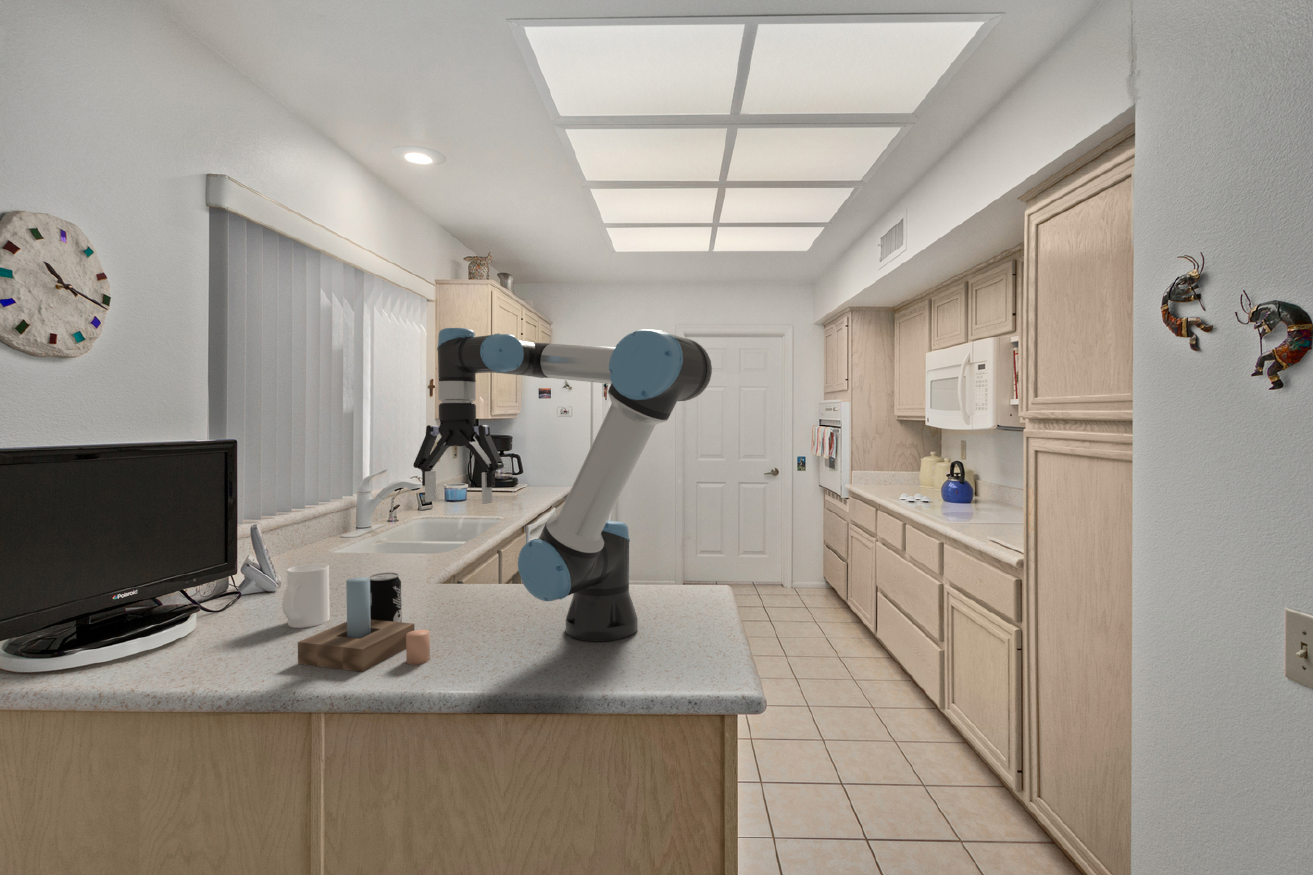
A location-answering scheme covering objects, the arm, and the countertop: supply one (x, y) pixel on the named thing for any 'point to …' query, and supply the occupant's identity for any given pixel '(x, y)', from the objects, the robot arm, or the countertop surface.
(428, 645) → the short dowel
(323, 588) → the mug
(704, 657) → the countertop surface
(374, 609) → the beverage can
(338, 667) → the hole block
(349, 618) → the long dowel
